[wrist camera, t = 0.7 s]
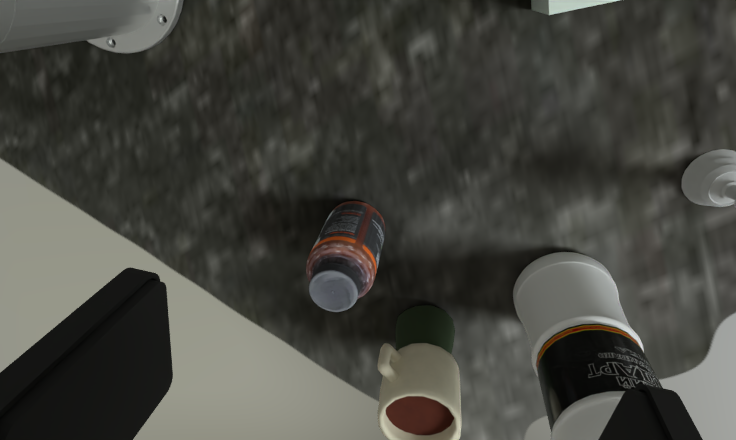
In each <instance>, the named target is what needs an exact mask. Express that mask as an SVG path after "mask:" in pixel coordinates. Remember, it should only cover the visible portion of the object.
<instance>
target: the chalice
mask: <svg viewBox="0 0 736 440" xmlns="http://www.w3.org/2000/svg"><path fill="white" fill-rule="evenodd" d="M681 188H682V190H683V193H684V195H685V196H686V197H687V198H688V199H689V200H690V201H692V202H694V203H696V204H699V205H707V206H716V207H724V206H730V205H732V204H734V206H735V208H736V152H735V151H733V150H725V149H720V150H714V151H710V152H708V153H705V154H703V155H701V156H699V157H698V158H697V159H695V160H694V161H693V162H691V164H690V165H689V166H688V167H687V169H686V170H685V172H684V174H683V177H682V187H681Z"/></svg>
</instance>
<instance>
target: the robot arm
mask: <svg viewBox="0 0 736 440" xmlns="http://www.w3.org/2000/svg"><path fill="white" fill-rule="evenodd" d="M182 5H183V0H0V53H4V52H11V51H17V50H24V49H30V48H37V47H44V46H50V45H57V44H64V43H70V42H77V41H83V40H86V41H88V42H89V43H91V44H93V45H95V46H97V47H99V48H101V49H104V50H108V51H111V52H115V53H134V52H140V51H143V50H147V49H150V48H152V47H154V46H156V45H157V44H159V43H161V42H162V41H163V40H164V39H165V38H166V37H167V36H168V35H169V34H170V33H171V31H172V30H173V28H174V27H175V25H176V23H177V21H178V18H179V16H180V13H181V10H182ZM165 17H166V19H167V21H166V20H165ZM172 377H173V372H172V358H171V346H170V333H169V318H168V306H167V292H166V285H165V283H163V282H160V279H159V276H158V275H157V274H156V273H152V272H148V271H143V270H139V269H134V268H127V269H125V270H123V271H122V272H121V273H120V274H118V275H117V276H116V277H115V278H114V279H112V280H111V281H110V282H109V283H108V284H106V285H105V286H104V287H103V288H102V289H100V290H99V291H98V292H97V293H96V294H94V295H93V296H92V297H91V298H89V299H88V300H87V301H86V302H85V303H84V304H82V305H81V306H80V307H79V308H77V309H76V310H75V311H74V312H73V313H71V314H70V315H69V316H68V317H67V318H66V319H64V320H63V321H62V322H61V323H59V324H58V325H57V326H56V327H55V328H53V330H51V331H50V332H49V333H47V334H46V335H45V336H44V337H43V338H42V339H40V340H39V341H38V342H37V343H35V344H34V345H33V346H32V347H31V348H30V349H28V350H27V351H26V352H25V353H23V354H22V355H21V356H20V357H19V358H18V359H16V360H15V361H14V362H13V363H12V364H10V365H9V366H8V367H7V368H6V369H4V370H3V371H2V372H1V373H0V440H133V439H134V437H135V436H136V434H137V433H138V432H139V430H140V429H141V427H142V426H143V425H144V423H145V422H146V421H147V419H148V418H149V416H150V415H151V414H152V412H153V411H154V410H155V408H156V407H157V406H158V404H159V403H160V401H161V400H162V399H163V397H164V396H165V395H166V393H167V392H168V390H169V387H170V385H171V382H172ZM598 440H703V439H702V438H701V436H700V434H699V432H698V430H697V428H696V426H695V425H694V423H693V421H692V419H691V417H690V415H689V413H688V412H687V410H686V408H685V406H684V404H683V402H682V401H681V399H680V397H679V396H678V394H677V393H675V392H674V391H672V390H667V389H663V388H658V387H654V386H650V385H645V384H639V385H637V386H636V387H635V388H634V390H632V389H628V390H626V391H625V392H624V394H623V396H622V397H621V399H620V401H619V403H618V405H617V406H616V408H615V410H614V412H613V414H612V416H611V417H610V419H609V421H608V423H607V425H606V427H605V428H604V430H603V432H602V434H601V436H600V437H599V439H598Z"/></svg>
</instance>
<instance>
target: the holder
mask: <svg viewBox="0 0 736 440" xmlns="http://www.w3.org/2000/svg"><path fill="white" fill-rule="evenodd" d="M614 1H619V0H531V8H532V10H534V11H537V12H541V13H544V14H548V15H551V14H556V13H561V12H566V11H571V10H576V9H580V8H585V7H590V6H595V5H600V4H605V3H609V2H614Z"/></svg>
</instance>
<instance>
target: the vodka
mask: <svg viewBox="0 0 736 440" xmlns="http://www.w3.org/2000/svg"><path fill="white" fill-rule="evenodd" d="M513 301H514V306H515V309H516V312H517V315H518V317H519V319H520V321H521V322H522V324H523V325H524V328H525V330H526V333H527V336H528V339H529V342H530V345H531V351H532V357H531V359H532V365H533V369H534V371H535V373H536V374H537V376H538V377H539V382H540V386H541V390H542V394H543V399H544V403H545V407H546V412H547V416H548V420H549V425H550V429H551V440H598V439H599V437H600V436H601V434H602V432H603V430H604V428H605V427H606V425H607V423H608V421H609V419H610V417H611V416H612V414H613V412H614V410H615V408H616V406H617V405H618V403H619V401H620V399H621V397H622V396H623V394H624V392H625V391H626V390H628V389H632V390H634V388H635V387H636V386H637V385H639V384H645V385H650V386H654V387H658V388H662V386H661V384H660V382H659V380H658V378H657V376H656V374H655V372H654V371H653V369H652V367H651V365H650V363H649V361H648V359H647V358H646V356H645V354H644V349H643V345H642V342H641V340H640V338H639V337H638V335H637V334H636V333H635V331H634V330H633V329H631V327H630V325H629V324H628V322H627V319H626V317H625V315H624V312H623V310H622V307H621V305H620V302H619V295H618V290H617V287H616V285H615V283H614V281H613V279H612V277H611V275H610V273H609V271H608V270H607V269H606V268H605V267H604V266H603V265H602V264H601V263H599V262H598V261H597V260H595V259H593V258H591V257H588V256H585V255H582V254H579V253H574V252H557V253H552V254H548V255H545V256H543V257H540V258H538V259H536V260H535V261H533V262H532V263H530V264H529V265H528V266H527V267H526V268H525V269H524V270H523V271H522V272H521V274H520V275H519V277H518V279H517V281H516V283H515V285H514V289H513Z"/></svg>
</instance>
